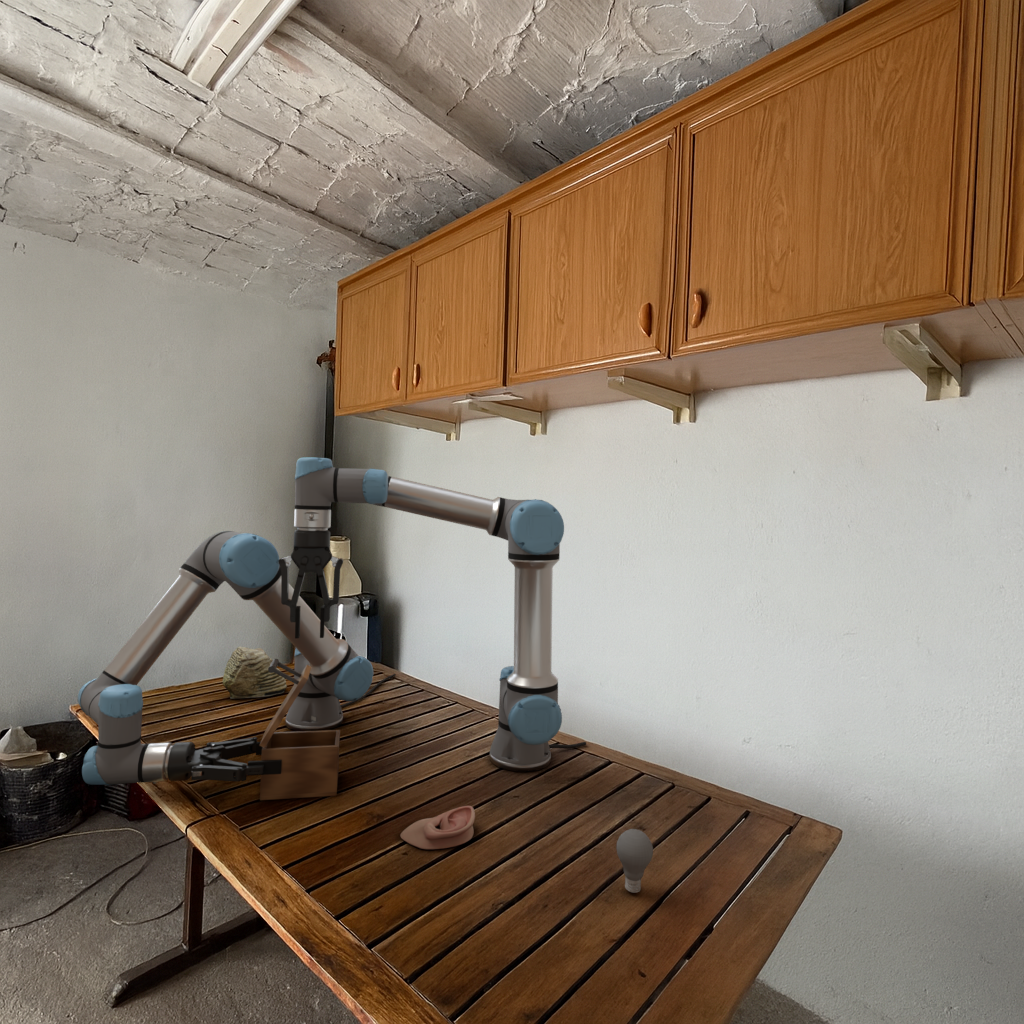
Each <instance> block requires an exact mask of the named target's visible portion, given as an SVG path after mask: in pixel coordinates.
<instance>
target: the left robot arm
mask: <svg viewBox="0 0 1024 1024" xmlns="http://www.w3.org/2000/svg"><path fill="white" fill-rule="evenodd" d="M279 559H280V555H279V552H278V550H277V548H276V547H275V545H274V544H273V543H272V542H271V541H270V540H268V539H267V538H265V537H263V536H261V535H258V534H256V533H249V532H237V531H233V530H223V531H217V532H215V533H213V534H211V535H209V536H208V537H206V538H205V539H204V540H203V541H202V542H201V543H199V545H198V546H197V547H196V548H195V549H194V550H193V552H191V554H190V555H189V557H188V558H187V559H186V560H185V561H184V562H183V564H181V566H180V567H179V568H178V573H179V575H178V577H177V578H176V579H175V581H174V582H173V583H172V584H171V586H170V587H169V589H167V591H166V592H165V594H164V595H162V597H161V598H160V600H159V601H158V602H157V603H156V604H155V606H154V607H153V608H152V609H151V611H150V612H149V613H148V615H147V616H146V617H145V618H144V620H143V621H142V622H141V623H140V625H139V626H138V627H137V629H135V631H134V632H133V633H132V634H131V636H130V637H129V638H128V639H127V641H126V642H125V643H124V645H123V646H121V648H120V649H119V650H118V652H117V653H116V654H115V656H114V657H113V658H112V660H111V661H110V662H109V663H108V664H107V666H106V667H105V668H104V669H103V671H102V672H101V673H100V674H99V675H98V677H96V678H93V679H91V680H89V681H87V682H86V683H84V684H83V685H82V686H81V687H80V689H79V691H78V694H77V704H78V705H79V707H80V709H81V710H82V712H83V713H84V714H85V715H86V716H88V717H89V718H91V719H92V721H93V722H94V723H95V724H96V725H98V726H97V727H98V731H97V732H98V733H97V737H98V738H97V739H98V740H97V745H93V746H91V747H89V749H88V750H87V752H86V753H85V754H84V757H83V764H82V767H81V775H82V776H81V777H82V780H83V781H84V783H85V784H87V785H92V786H96V785H97V786H99V785H101V786H113V785H125V784H139V783H140V784H141V783H142V784H143V783H152V784H153V785H154V784H158V782H161V783H162V782H167V781H168V780H169V781H170V782H182V781H185V782H186V781H188V780H190V779H191V781H200V780H206V781H221V782H246V781H247V778H248V776H249V777H250V776H261V775H270V774H281V769H282V760H263V761H261V760H248V761H247V763H246V762H240V761H236V760H232V759H236V758H241V757H246V756H249V755H253V754H255V756H262V748H263V747H261V746H260V743H261V741H258V737H257V736H254V737H247V738H241V739H232V740H226V741H217V742H215V741H214V742H213V741H211V742H209V741H208V742H207V743H206V747H204V748H199V749H197V748H196V744H195V743H194V742H193V741H180V742H175V743H174V744H173V743H172V742H151V743H142V741H141V740H142V725H143V724H142V723H143V708H144V699H143V689H142V687H141V686H139V685H138V684H139V683H140V682H141V680H142V679H143V678H144V676H145V675H146V674H147V673H148V671H150V669H151V667H152V666H153V665H154V664H155V662H156V661H157V660H158V659H159V657H160V656H161V655H162V653H163V652H164V651H165V650H166V648H167V647H168V646H169V645H170V643H172V641H173V639H174V638H175V637H176V635H177V634H178V633H179V632H180V630H181V629H182V628H183V626H184V625H185V624H186V623H187V621H188V620H189V618H190V617H191V616H192V615H193V614H194V612H195V611H196V610H197V609H198V607H199V606H200V605H201V603H202V602H203V601H204V599H205V598H206V597H207V595H209V594H210V593H216V592H217V590H218V589H219V587H220V586H221V585H222V584H223V583H224V582H226V583H227V585H229V586H230V588H231V589H233V590H234V592H235V593H236V594H237V595H238V596H239V597H240V598H241V599H242V600H243V601H253V602H254V603H255V604H256V605H257V607H259V609H260V610H261V611H262V612H263V613H264V614H265V615H266V616H267V618H268V619H269V620H270V621H271V622H272V624H274V625H275V627H276V628H277V629H278V630H279V631H280V633H282V634H283V636H285V637H286V639H287V640H289V642H290V644H292V645H293V646H294V647H295V650H294V655H293V657H294V669H293V670H295V671H297V672H299V673H300V674H301V673H302V672H303V670H304V668H305V667H306V665H309V666H310V667H311V670H310V674H309V677H308V680H307V682H306V683H305V685H304V686H303V688H302V690H301V691H300V693H299V694H298V696H297V697H296V699H295V701H294V702H293V704H292V705H291V707H290V708H289V710H288V712H287V713H286V715H285V726H286V728H287V729H289V730H291V731H294V732H297V731H323V730H334V729H335V728H337V727H339V726H340V725H342V723H343V722H344V714H343V709H342V708H344V707H346V706H351V705H352V704H355V703H357V702H359V701H362V699H365V698H366V697H367V696H369V695H370V694H371V693H372V692H374V690H376V688H378V687H379V686H380V685H381V684H382V683H384V682H386V681H387V680H389V679H391V678H393V677H395V676H396V675H397V674H396V673H393V674H391V675H389V676H387V677H385V678H383V679H381V680H380V681H379V682H378V683H376V684H375V685H374V686H373V687H372V688H371V689H370V687H371V684H372V683H373V677H374V667H373V664H372V662H371V661H370V660H369V659H368V658H367V657H365V656H362V655H359V654H358V653H357V652H356V651H355V650H354V649H353V648H352V646H351V645H350V644H349V643H348V642H347V641H346V640H345V639H343V638H336V637H335V636H334V634H332V633H331V631H330V630H329V629H328V628H327V626H326V625H325V624H324V638H320V618H319V617H318V616H317V614H316V613H315V612H314V611H313V610H312V609H311V607H310V606H309V605H308V604H307V603H306V601H305V600H304V599H303V598H302V596H300V595H299V598H298V602H297V606H301V608H300V636H299V638H295V622H291V621H290V607H289V606H287V605H283V604H282V603H281V567H280V565H279ZM293 592H294V587H293V586H292V585H291V584H290V583H289V599H292V596H293ZM293 678H294V679H296V680H297V679H298V678H299V677H297V676H296V675H294V674H293ZM294 684H295V683H293V685H294ZM369 689H370V690H369ZM340 701H345V702H346V703H342V704H341V702H340Z"/></svg>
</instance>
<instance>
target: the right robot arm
mask: <svg viewBox="0 0 1024 1024" xmlns="http://www.w3.org/2000/svg"><path fill="white" fill-rule="evenodd" d="M332 503H345V504H346V503H347V504H348V503H349V504H368V505H373V506H378V507H383V508H387V509H392V510H395V511H396V510H397V511H401V512H405V513H409V514H413V515H417V516H418V515H419V516H423V517H427V518H432V519H435V520H439V521H445V522H448V523H453V524H458V525H462V526H466V527H470V528H475V529H480V530H484V531H485V532H486V533H487V534H488V535H489V536H491V537H496V538H499V539H503V540H505V541H507V550H508V551H507V559H508V560H507V561H509V562H510V563H511V564H512V565H513V567H514V599H513V600H514V605H513V606H514V607H513V608H514V609H513V665H508V666H504V667H503V668H502V669H501V670H500V674H499V675H500V677H499V678H498V680H499V696H498V697H499V698H498V699H499V700H498V719H497V721H498V722H497V723H498V725H497V729H496V732H495V735H494V737H493V741H492V743H491V746H490V748H489V760H490V762H491V763H492V764H493V765H494V766H496V767H498V768H500V769H503V770H506V771H511V772H522V773H523V772H525V773H527V772H535V771H539V770H543V769H545V768H547V767H548V766H549V765H550V763H551V760H552V751H551V749H565V750H566V749H567V750H568V749H576V748H580V747H585V746H587V742H586V741H581V742H577V743H572V744H559V743H558V744H556V743H555V744H551V743H549V741H551V740H552V739H553V738H555V737H556V735H558V733H559V731H560V729H561V727H562V723H563V712H562V709H561V706H560V704H559V678H558V676H556V675H555V674H554V673H553V672H552V662H553V661H552V660H553V657H552V656H553V652H552V650H553V649H552V648H553V640H552V639H553V575H554V574H553V573H554V572H553V570H554V569H553V568H554V566H555V565H557V563H559V561H560V552H561V551H560V550H561V549H560V546H561V543H562V540H563V537H564V535H565V534H564V533H565V522H564V519H563V517H562V514H561V512H560V511H559V510H558V509H557V508H556V507H555V506H554V505H553V504H551V503H550V502H548V501H546V500H543V499H536V498H535V499H511V498H506V497H505V498H504V497H500V496H497V497H496V498H494V499H490V498H487V497H482V496H479V495H474V494H470V493H469V494H468V493H464V492H460V491H456V490H452V489H448V488H443V487H438V486H435V485H430V484H426V483H421V482H417V481H413V480H409V479H404V478H399V477H395V476H390V475H388V472H387V471H386V470H384V469H377V468H351V467H350V468H345V467H344V468H342V467H334V465H333V461H332V459H331V458H327V457H312V456H310V457H309V456H308V457H307V456H305V457H304V456H303V457H299V458H298V459H297V461H296V466H295V476H294V513H293V516H294V517H293V518H294V520H293V527H294V528H296V529H295V530H294V531H293V550H292V552H291V554H290V555H288V556H285V557H281V558H279V565H280V567H281V603H282V604H283V605H287V606H289V607H290V621H291V622H295V638H299V636H300V608H301V606H297V602H298V598H299V596H300V594H301V591H302V586H303V582H304V580H305V579H304V578H305V575H306V574H309V573H313V574H314V573H315V574H317V578H318V583H319V589H320V592H321V597H322V601H323V605H321V606H320V612H319V613H320V615H319V617H320V618H319V619H320V638H324V625H325V623H329V622H330V619H331V607H333V606H334V605H338V604H339V602H340V584H341V569H342V566H343V564H344V559H343V558H342V557H337V556H334V555H333V553H332V552H331V551H332V550H331V531H330V530H328V529H330V528H331V527H332V526H331V524H332V523H331V522H332ZM330 561H331V566H332V567H333V568H334V570H333V587H332V588H333V589H332V598H330V594H329V589H328V584H327V580H326V574H325V570H324V569H325V568H326V567H327V565H328V564H329V563H330ZM292 562H293V563H294V565H295V567H297V569H298V573H297V577H296V581H295V585H294V587H293V589H294V592H293V596H292V599H289V584H290V581H289V580H290V579H289V578H290V577H289V575H290V574H289V573H290V571H289V567H290V566H291V564H292Z"/></svg>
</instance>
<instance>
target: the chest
mask: <svg viewBox="0 0 1024 1024" xmlns="http://www.w3.org/2000/svg"><path fill="white" fill-rule="evenodd" d="M340 741H341V729H329V730H323V731H275V732H274V734H273V735H272V737H271V738H270V740H269V741H268V743H267V745H266V746H265V748H262V755H261V757H260V758H261V759H260V761H263V760H282V769H281V774H270V775H260V785H259V786H260V787H259V788H260V789H259V801H271V800H285V799H287V800H289V799H304V798H320V797H335V796H337V795H338V785H339V784H338V782H339V768H340V767H339V766H340V745H341V744H340Z"/></svg>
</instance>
